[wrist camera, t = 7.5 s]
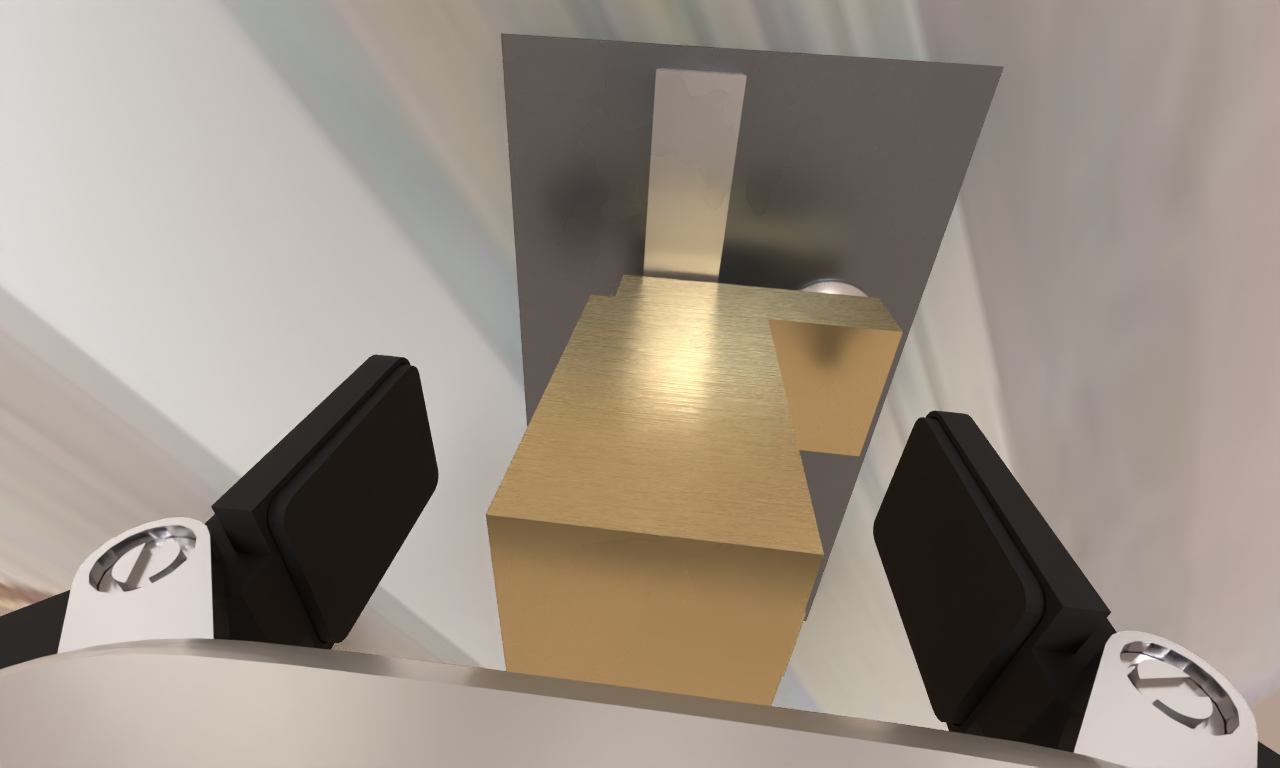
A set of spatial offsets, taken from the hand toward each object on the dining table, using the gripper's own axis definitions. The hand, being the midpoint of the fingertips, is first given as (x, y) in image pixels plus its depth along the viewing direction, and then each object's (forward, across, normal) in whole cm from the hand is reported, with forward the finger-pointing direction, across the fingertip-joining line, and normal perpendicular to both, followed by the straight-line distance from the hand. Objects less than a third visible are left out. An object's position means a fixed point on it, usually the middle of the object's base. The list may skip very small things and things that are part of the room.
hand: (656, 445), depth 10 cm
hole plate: (+8, -1, +4) cm, 9 cm away
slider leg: (+6, -2, 0) cm, 7 cm away
